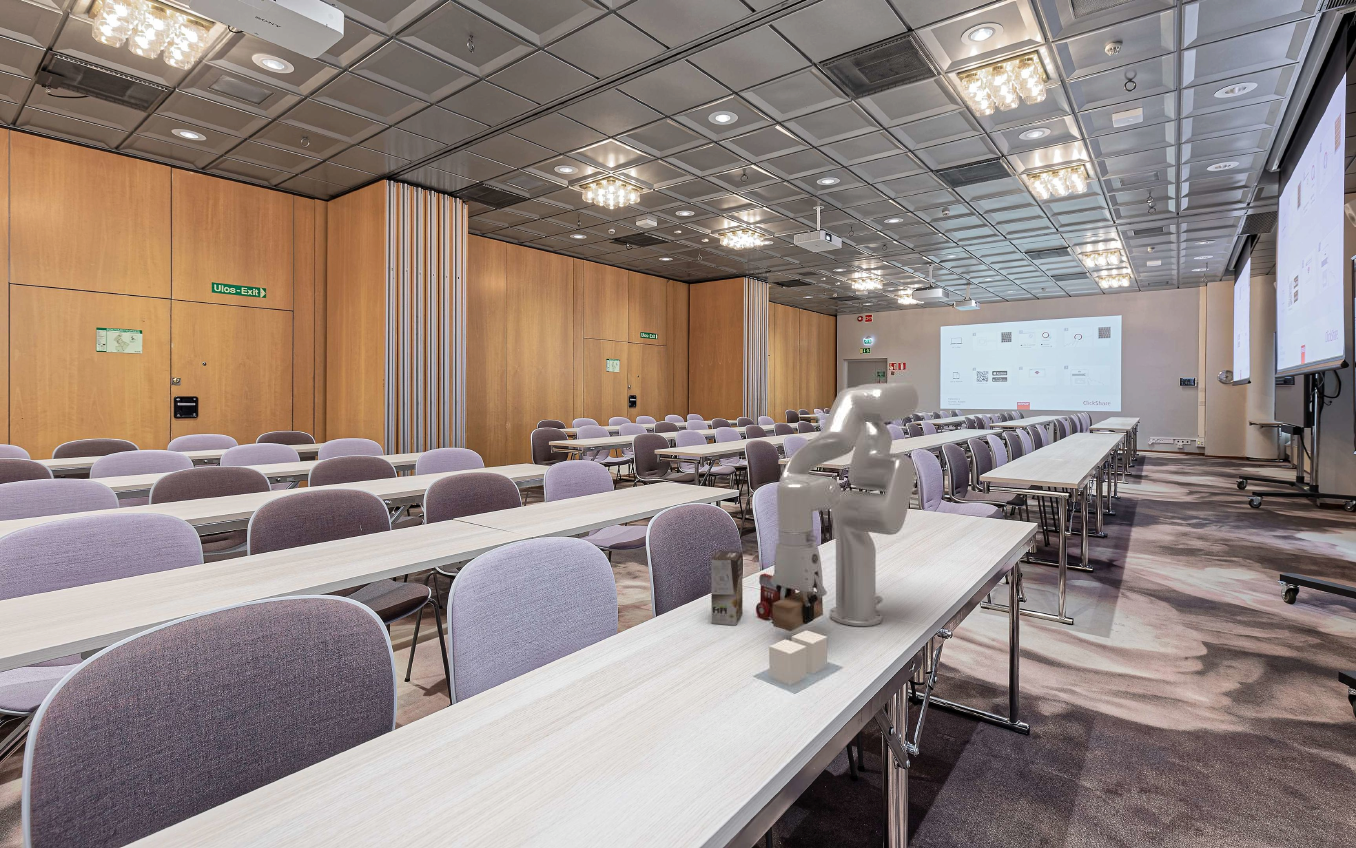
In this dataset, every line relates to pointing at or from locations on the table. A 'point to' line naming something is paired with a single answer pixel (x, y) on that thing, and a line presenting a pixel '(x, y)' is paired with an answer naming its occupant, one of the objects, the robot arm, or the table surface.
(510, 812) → the table surface
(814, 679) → the slate board
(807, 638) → the cream pillar
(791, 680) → the cream pillar
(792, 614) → the walnut beam
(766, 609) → the toy fire truck
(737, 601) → the coffee box
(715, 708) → the table surface
